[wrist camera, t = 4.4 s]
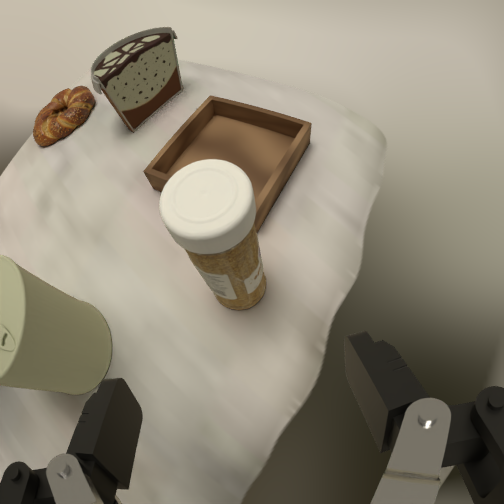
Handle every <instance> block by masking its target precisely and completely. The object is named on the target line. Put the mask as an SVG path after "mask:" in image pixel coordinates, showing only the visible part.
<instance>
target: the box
mask: <svg viewBox="0 0 504 504" xmlns="http://www.w3.org/2000/svg"><path fill="white" fill-rule="evenodd" d="M310 134H311V123H309V122H306V121H303V120H300V119H297V118H294V117H291V116H287V115H284V114H281V113H277V112H274V111H270V110H267V109H263V108H259V107H256V106H252V105H248V104H244V103H240V102H236V101H232V100H228V99H224V98H219V97H215V96H209V97H208V98H207V99H206V100H205V101H204V103H203V104H202V105H201V106H200V107H199V108H198V109H197V110H196V111H195V112H194V113H193V114H192V115H191V116H190V117H189V119H188V120H187V121H186V122H185V123H184V124H183V125H182V126H181V127H180V129H179V130H178V131H177V132H176V133H175V134H174V135H173V136H172V138H171V139H170V140H169V141H168V142H167V143H166V145H165V146H164V147H163V148H162V149H161V151H160V152H159V153H158V154H157V155H156V157H155V158H154V159H153V160H152V161H151V163H150V164H149V165H148V166H147V168H146V169H145V170H144V171H143V172H144V173H145V175H146V177H147V179H148V180H149V182H150V184H151V185H152V187H153V189H155V190H158V191H160V192H162V191H163V188H164V186H165V184H166V183H167V182H168V180H169V179H170V178H171V177H172V176H173V175H174V174H175V173H176V172H177V171H179V170H180V169H182V168H183V167H185V166H187V165H189V164H191V163H193V162H197V161H201V160H207V159H217V160H224V161H227V162H230V163H232V164H234V165H236V166H238V167H239V168H241V169H242V170H243V171H244V172H245V173H246V175H247V176H248V177H249V179H250V181H251V184H252V188H253V192H254V197H255V204H256V216H255V221H254V223H255V228H256V233H257V232H258V231H259V229H260V227H261V225H262V224H263V222H264V220H265V219H266V217H267V215H268V213H269V212H270V210H271V208H272V207H273V205H274V203H275V201H276V200H277V198H278V196H279V195H280V193H281V191H282V189H283V188H284V186H285V184H286V183H287V181H288V179H289V178H290V176H291V174H292V172H293V171H294V169H295V167H296V166H297V164H298V162H299V160H300V159H301V157H302V155H303V154H304V152H305V150H306V149H307V147H308V145H309V143H310Z"/></svg>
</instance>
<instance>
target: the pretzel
mask: <svg viewBox="0 0 504 504" xmlns="http://www.w3.org/2000/svg"><path fill="white" fill-rule="evenodd" d="M94 102H95V100H94V96H93V95H92V93H91V92H90V90H89V89H88V88H87V87H85V86H78V87H75V88H74V89H73V90H70V89H69V88H68V89H65V90H63V91H61V92H59V93H58V94H56V95H55V96H54V97H53V99H52V101H51V102H50V103H49V104H48V105H47V106H45V107H44V108H43V109H42V110H41V111H40V113H39V114H38V116H37V118H36V120H35V126H34V129H33V136H34V139H35V141H36V143H37V144H38V145H40V146H48V145H51V144H53V143H55V142H56V141H57V140H58V139H60V138H63V137H66V136H68V135H69V134H70V133H72V131H73V130H74V129H75V128H76V127H77V125H81V124H82V123H84V122H85V120H86V119H87V117H88V115H89V112H90V110H91V109H92V107H93V105H94Z"/></svg>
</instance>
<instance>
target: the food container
mask: <svg viewBox="0 0 504 504" xmlns="http://www.w3.org/2000/svg"><path fill="white" fill-rule="evenodd" d="M174 39H177V36H176V34H175V32H174V31H172V29H171V27H160V28H153V29H149V30H145V31H141V32H138V33H136V34H133V35H130V36H128V37H126V38H124V39H122V40H120V41H118V42H117V43H115V44H113V45H112V46H111V47H109V48H108V49H106V50H105V51H104V52H103V53H101V54H100V55H99V56H98V58H97V59H96V60H95V61H94V63H93V65H92V67H91V79H92V84H93V87H94V90H95V91H96V92H97V93H99V94H102V93H101V90H102V91H103V93H104V94H105V96H106V97H107V99H108V100H109V102H110V103H111V104H112V106H113V107H114V109H115V110H116V112H117V113H118V115H119V116H120V117H121V119H122V120H123V122H124V123H125V125H126V126H127V127H128V129H129V130H130V131H132V132H133V133H134V132H135V131H136V130H137V129H138V128H140V127H141V126H142V125H143V124H144V123H145V122H146V121H147V120H148V119H150V118H151V117H152V116H153V115H154V114H155V113H156V112H158V111H159V110H160V109H161V108H162V107H163V106H165V105H166V104H167V103H168V102H169V101H171V100H172V99H173V98H174V97H175V96H177V95H178V94H179V93H180V92H182V91H183V86H182V81H181V76H180V71H179V65H178V60H177V55H176V49H175V44H174ZM100 88H101V89H100Z"/></svg>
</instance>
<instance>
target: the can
mask: <svg viewBox="0 0 504 504" xmlns="http://www.w3.org/2000/svg"><path fill="white" fill-rule="evenodd" d="M111 354H112V341H111V335H110V331H109V328H108V325H107V323H106V321H105V319H104V317H103V316H102V314H101V313H100V312H99V311H98V310H97V309H96V308H95V307H94V306H92V305H91V304H89V303H87V302H84V301H80V300H78V299H76V298H74V297H72V296H70V295H68V294H66V293H64V292H62V291H60V290H59V289H57V288H55V287H53V286H51V285H50V284H48V283H46V282H45V281H43V280H41V279H40V278H38V277H36V276H35V275H33V274H31V273H30V272H28V271H26V270H25V269H23V268H22V267H20V266H19V265H17V264H16V263H15V262H14V261H13V260H11V259H10V258H8V257H6V256H3V255H0V385H1V386H9V387H17V388H25V389H35V390H44V391H54V392H64V393H67V394H71V395H80V394H84V393H87V392H89V391H91V390H93V389H94V388H95V387H96V386H97V385H98V384H99V383H100V382H101V381H102V379H103V378H104V376H105V375H106V372H107V370H108V368H109V364H110V361H111Z"/></svg>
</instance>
